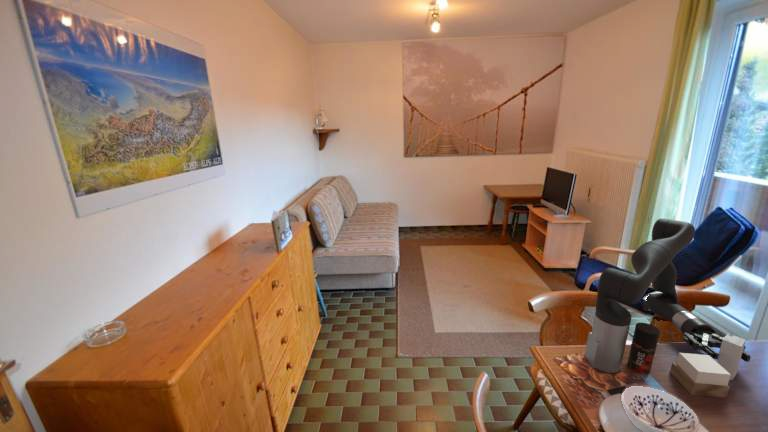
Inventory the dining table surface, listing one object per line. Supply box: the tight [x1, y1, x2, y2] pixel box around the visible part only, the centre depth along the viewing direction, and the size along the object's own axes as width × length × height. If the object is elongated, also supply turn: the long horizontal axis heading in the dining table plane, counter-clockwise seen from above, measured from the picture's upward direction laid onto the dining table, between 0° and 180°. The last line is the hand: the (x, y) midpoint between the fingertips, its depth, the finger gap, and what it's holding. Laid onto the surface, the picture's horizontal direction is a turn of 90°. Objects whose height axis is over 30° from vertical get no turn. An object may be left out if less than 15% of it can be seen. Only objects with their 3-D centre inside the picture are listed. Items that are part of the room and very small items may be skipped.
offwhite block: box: [675, 352, 731, 386], centre depth 96 cm, size 8×8×4 cm
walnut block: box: [669, 361, 731, 399], centre depth 97 cm, size 9×9×4 cm
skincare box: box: [716, 333, 747, 381], centre depth 100 cm, size 6×4×12 cm
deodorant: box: [626, 322, 661, 376], centre depth 102 cm, size 6×6×15 cm
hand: (732, 358), depth 99 cm, fingers open, 8 cm apart
